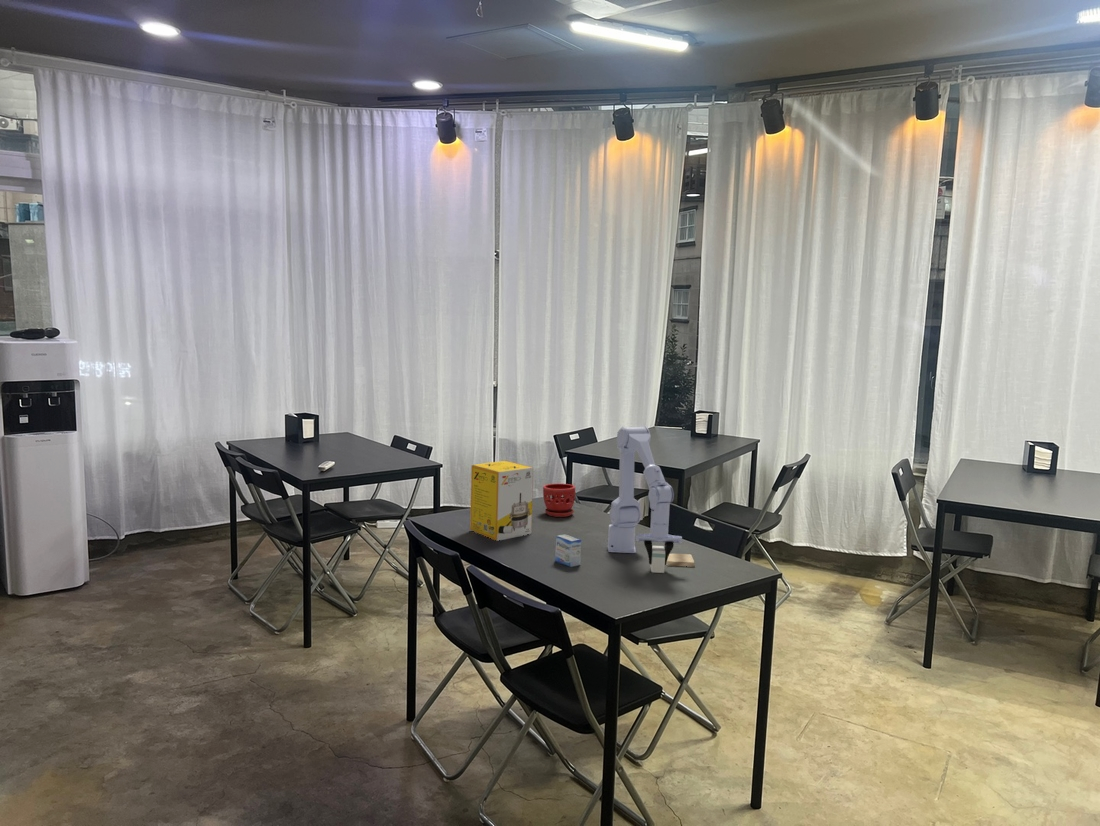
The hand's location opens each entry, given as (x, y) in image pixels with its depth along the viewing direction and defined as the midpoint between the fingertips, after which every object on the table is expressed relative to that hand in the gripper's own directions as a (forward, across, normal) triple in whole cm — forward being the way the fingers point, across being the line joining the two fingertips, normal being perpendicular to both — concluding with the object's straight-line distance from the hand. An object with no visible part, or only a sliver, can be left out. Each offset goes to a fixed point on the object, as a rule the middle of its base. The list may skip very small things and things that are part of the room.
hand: (657, 563), depth 256 cm
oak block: (+3, +8, +10) cm, 13 cm away
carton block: (+2, 0, 0) cm, 2 cm away
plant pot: (+2, -35, +67) cm, 76 cm away
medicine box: (+2, -29, +3) cm, 29 cm away
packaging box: (+2, -55, +36) cm, 66 cm away
